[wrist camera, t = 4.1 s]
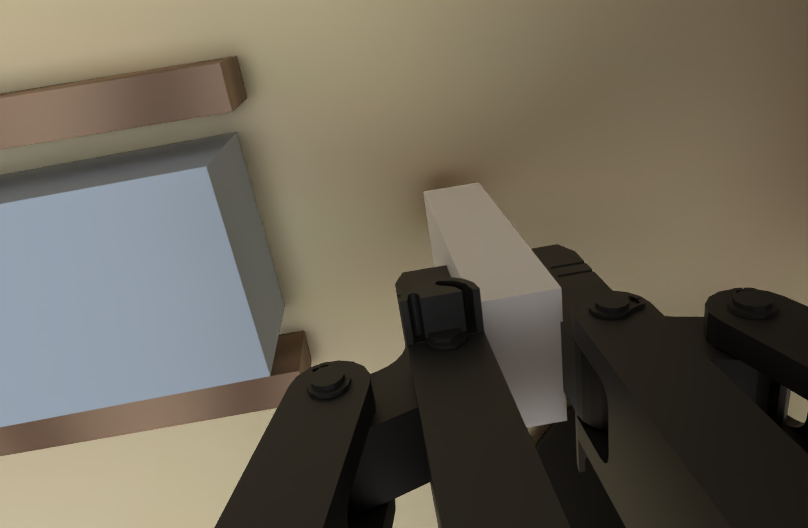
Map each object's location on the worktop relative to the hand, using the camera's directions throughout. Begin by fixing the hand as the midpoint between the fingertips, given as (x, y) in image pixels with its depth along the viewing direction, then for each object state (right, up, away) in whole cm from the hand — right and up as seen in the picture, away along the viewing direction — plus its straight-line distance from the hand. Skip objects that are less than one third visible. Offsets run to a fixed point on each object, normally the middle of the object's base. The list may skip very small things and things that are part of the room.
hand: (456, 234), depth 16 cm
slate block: (-10, 0, +3) cm, 11 cm away
